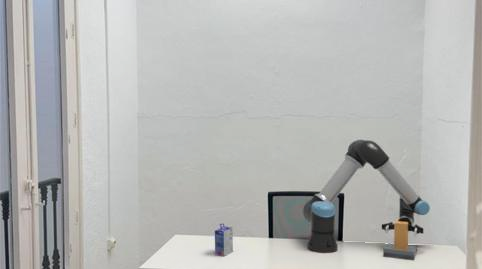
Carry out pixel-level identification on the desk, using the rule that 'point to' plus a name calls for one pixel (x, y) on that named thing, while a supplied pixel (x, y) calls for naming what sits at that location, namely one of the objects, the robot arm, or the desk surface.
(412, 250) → the plate
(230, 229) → the ink cartridge box
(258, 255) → the desk surface
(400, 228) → the orange tan rectangular block
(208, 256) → the desk surface
